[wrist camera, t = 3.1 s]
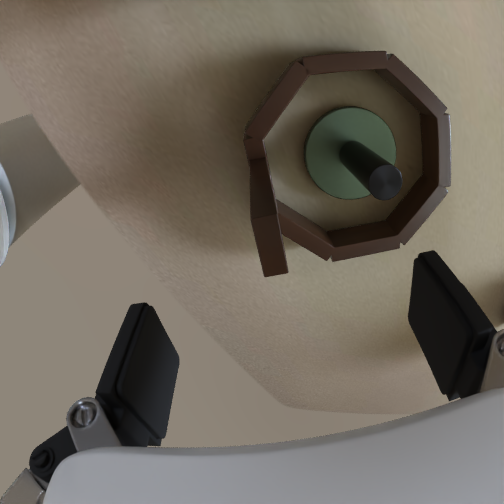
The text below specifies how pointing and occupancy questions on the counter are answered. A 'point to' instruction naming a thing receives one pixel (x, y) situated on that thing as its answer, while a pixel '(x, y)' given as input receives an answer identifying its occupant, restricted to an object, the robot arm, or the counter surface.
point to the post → (352, 155)
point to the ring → (358, 237)
